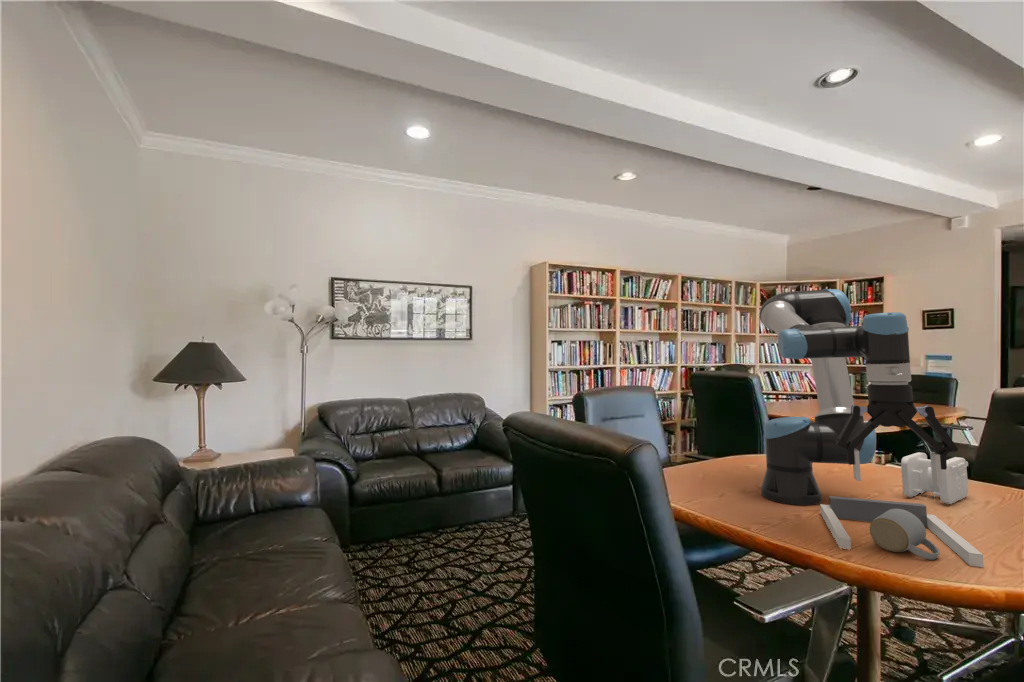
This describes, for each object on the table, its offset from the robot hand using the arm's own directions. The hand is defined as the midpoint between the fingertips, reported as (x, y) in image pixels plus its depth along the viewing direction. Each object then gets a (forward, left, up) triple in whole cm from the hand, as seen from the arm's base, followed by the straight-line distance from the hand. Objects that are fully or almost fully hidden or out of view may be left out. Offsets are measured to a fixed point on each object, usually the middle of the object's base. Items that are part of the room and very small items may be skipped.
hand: (896, 482), depth 98 cm
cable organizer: (+20, +45, -15) cm, 52 cm away
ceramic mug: (+1, 0, -15) cm, 15 cm away
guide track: (0, +7, -14) cm, 16 cm away
